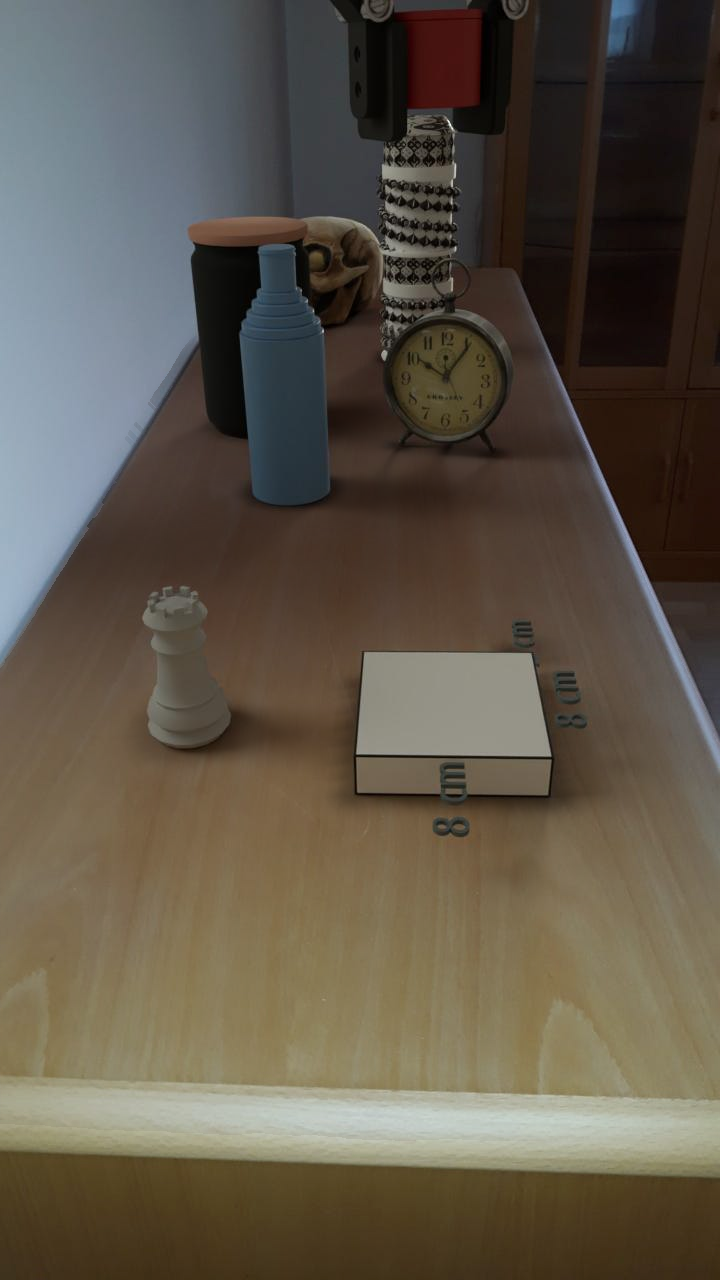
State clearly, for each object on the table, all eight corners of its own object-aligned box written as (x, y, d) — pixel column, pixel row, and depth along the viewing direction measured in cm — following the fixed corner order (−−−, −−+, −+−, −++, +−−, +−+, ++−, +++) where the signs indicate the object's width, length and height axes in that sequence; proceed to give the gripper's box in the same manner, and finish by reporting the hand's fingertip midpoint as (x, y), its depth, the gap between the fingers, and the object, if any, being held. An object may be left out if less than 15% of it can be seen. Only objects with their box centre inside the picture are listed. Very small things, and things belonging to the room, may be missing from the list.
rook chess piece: (131, 735, 53) (108, 605, 49) (188, 695, 56) (170, 569, 52) (193, 762, 51) (175, 628, 46) (248, 719, 54) (236, 590, 50)
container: (366, 637, 61) (365, 599, 59) (552, 638, 60) (556, 599, 59) (348, 873, 44) (347, 828, 42) (609, 878, 43) (616, 832, 42)
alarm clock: (382, 451, 89) (380, 261, 80) (397, 431, 93) (397, 250, 85) (502, 461, 86) (513, 266, 78) (512, 440, 90) (524, 254, 82)
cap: (408, 110, 38) (408, 10, 36) (367, 107, 41) (364, 14, 39) (497, 104, 39) (501, 7, 37) (451, 102, 42) (452, 12, 40)
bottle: (245, 504, 79) (223, 254, 69) (261, 474, 85) (243, 239, 75) (323, 506, 78) (312, 254, 69) (335, 476, 84) (326, 239, 74)
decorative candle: (361, 356, 116) (356, 117, 103) (417, 342, 121) (419, 112, 108) (415, 372, 110) (418, 119, 97) (472, 356, 115) (481, 114, 102)
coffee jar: (274, 398, 103) (262, 212, 94) (338, 422, 96) (332, 224, 86) (186, 421, 97) (164, 226, 88) (248, 449, 90) (230, 239, 81)
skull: (258, 329, 127) (256, 217, 122) (275, 313, 143) (273, 213, 137) (379, 333, 127) (382, 220, 121) (382, 316, 142) (385, 216, 137)
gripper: (582, -428, 37) (546, 121, 46) (148, -505, 31) (209, 143, 40) (725, -520, 31) (651, 130, 41) (226, -637, 25) (275, 156, 35)
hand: (430, 131), depth 40 cm, fingers closed on cap, 3 cm apart
